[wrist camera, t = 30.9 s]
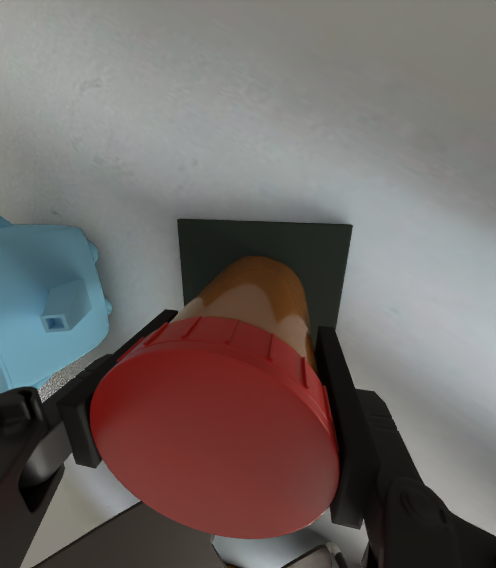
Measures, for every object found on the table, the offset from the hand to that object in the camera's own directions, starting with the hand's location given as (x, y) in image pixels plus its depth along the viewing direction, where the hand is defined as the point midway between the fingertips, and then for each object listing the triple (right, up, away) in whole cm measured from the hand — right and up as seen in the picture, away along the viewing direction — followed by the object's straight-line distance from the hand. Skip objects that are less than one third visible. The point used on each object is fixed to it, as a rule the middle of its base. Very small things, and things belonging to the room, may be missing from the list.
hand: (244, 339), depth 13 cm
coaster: (+1, +2, +6) cm, 6 cm away
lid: (-1, -2, -5) cm, 6 cm away
